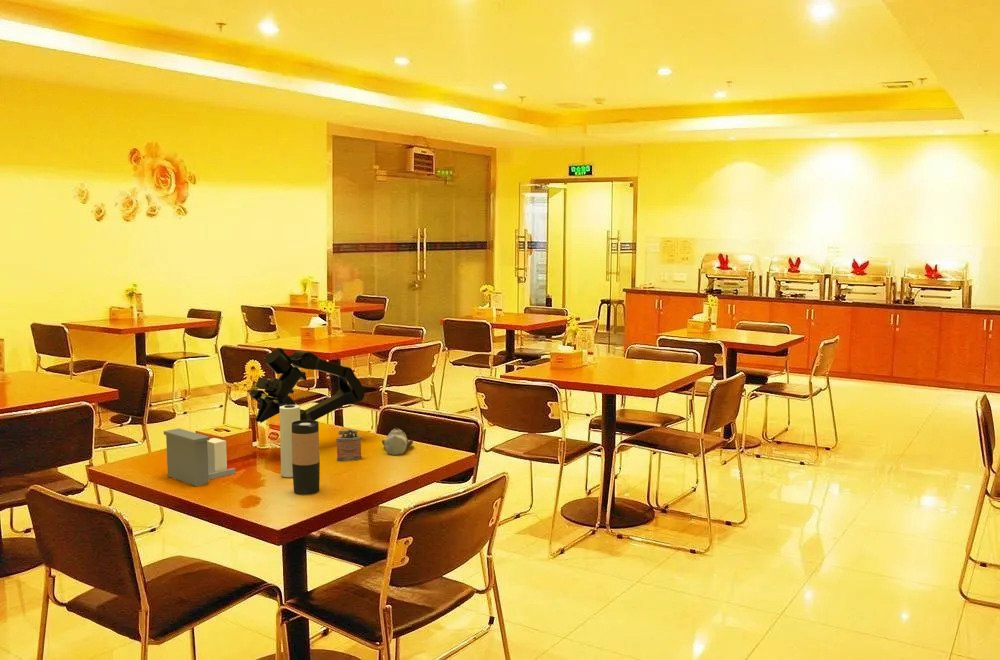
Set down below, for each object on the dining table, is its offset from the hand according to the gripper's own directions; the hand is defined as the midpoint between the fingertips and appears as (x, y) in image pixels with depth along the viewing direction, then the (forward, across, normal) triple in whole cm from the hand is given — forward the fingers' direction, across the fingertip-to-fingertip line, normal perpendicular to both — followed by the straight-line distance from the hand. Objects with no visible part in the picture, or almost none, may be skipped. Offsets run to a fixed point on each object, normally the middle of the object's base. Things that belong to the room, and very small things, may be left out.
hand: (258, 421), depth 275 cm
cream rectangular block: (+21, 0, -2) cm, 21 cm away
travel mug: (+16, +36, +3) cm, 40 cm away
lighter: (-6, +18, +25) cm, 32 cm away
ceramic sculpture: (-18, +22, +38) cm, 47 cm away
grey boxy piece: (+23, 0, -4) cm, 24 cm away
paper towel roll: (+11, +19, +9) cm, 24 cm away
